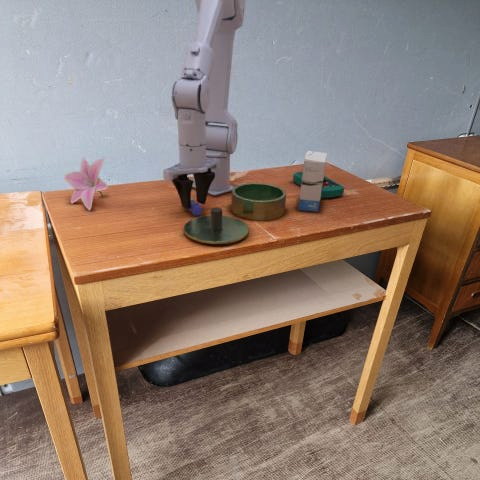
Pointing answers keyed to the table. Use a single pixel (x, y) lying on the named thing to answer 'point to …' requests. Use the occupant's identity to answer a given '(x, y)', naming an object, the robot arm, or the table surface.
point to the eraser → (195, 208)
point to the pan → (258, 201)
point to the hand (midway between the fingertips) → (193, 205)
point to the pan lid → (216, 228)
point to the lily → (86, 182)
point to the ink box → (312, 181)
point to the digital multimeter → (328, 187)
